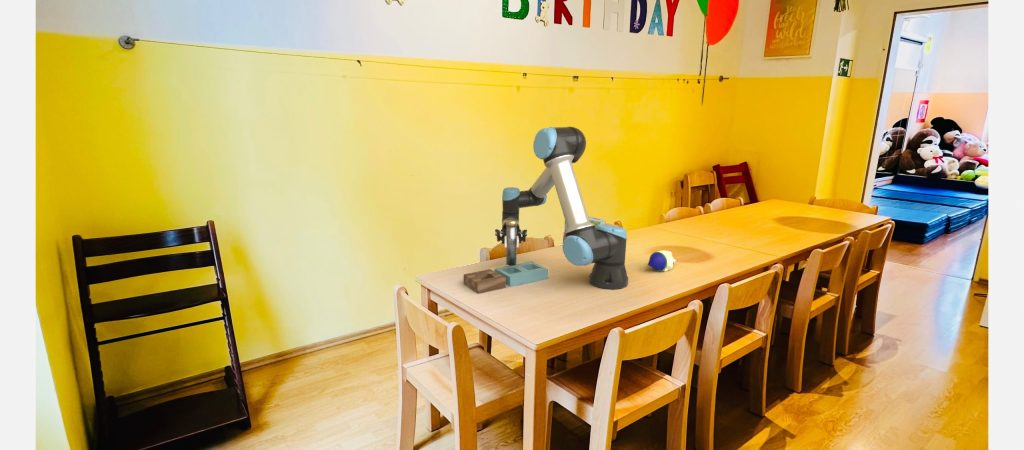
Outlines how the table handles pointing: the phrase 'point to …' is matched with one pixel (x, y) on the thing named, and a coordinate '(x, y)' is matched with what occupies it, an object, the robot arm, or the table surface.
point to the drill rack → (522, 273)
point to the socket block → (484, 281)
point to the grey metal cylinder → (511, 242)
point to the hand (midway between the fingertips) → (511, 243)
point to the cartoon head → (661, 261)
